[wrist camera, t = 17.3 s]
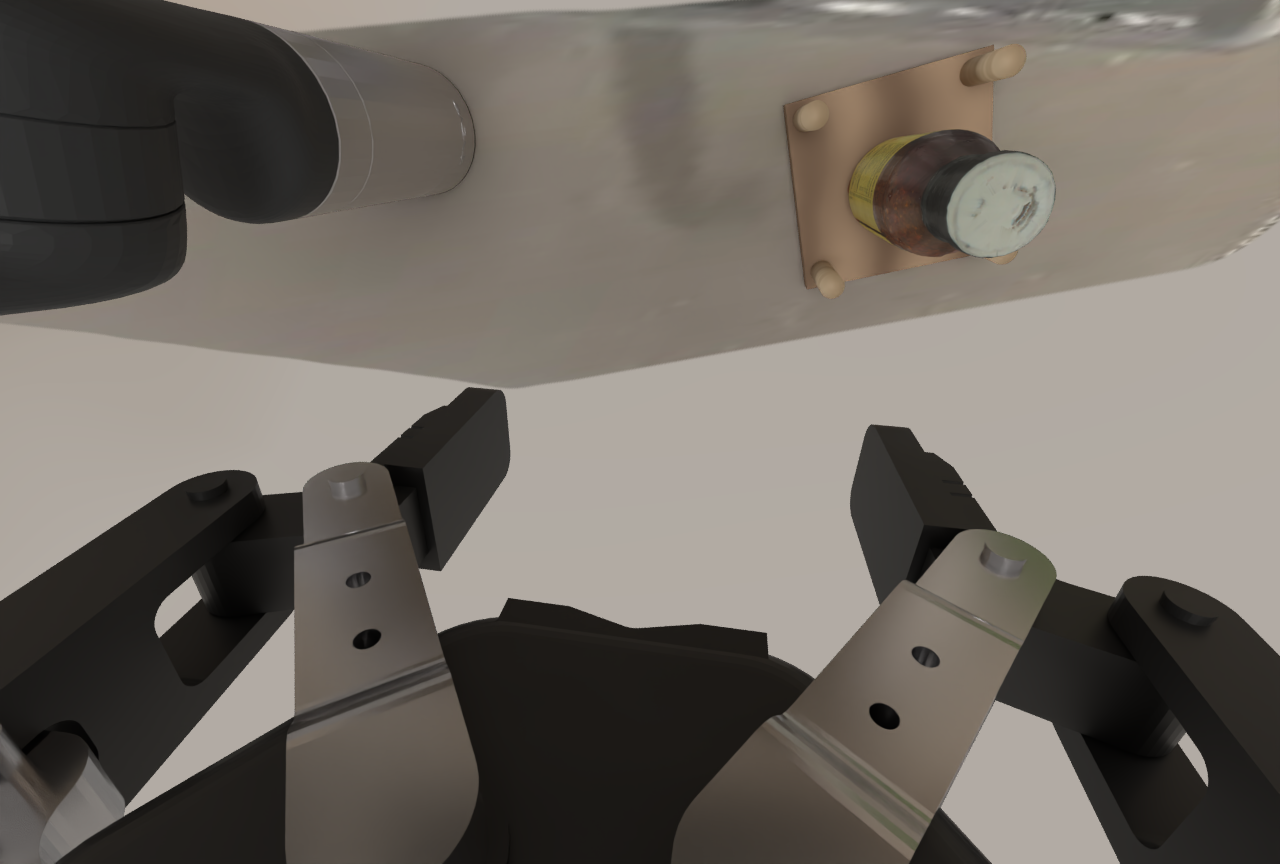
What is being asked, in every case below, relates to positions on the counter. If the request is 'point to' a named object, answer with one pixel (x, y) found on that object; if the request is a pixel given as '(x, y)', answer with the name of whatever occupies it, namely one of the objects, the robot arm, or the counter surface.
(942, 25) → the counter surface
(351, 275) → the counter surface
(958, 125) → the peg stand
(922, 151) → the sauce bottle
